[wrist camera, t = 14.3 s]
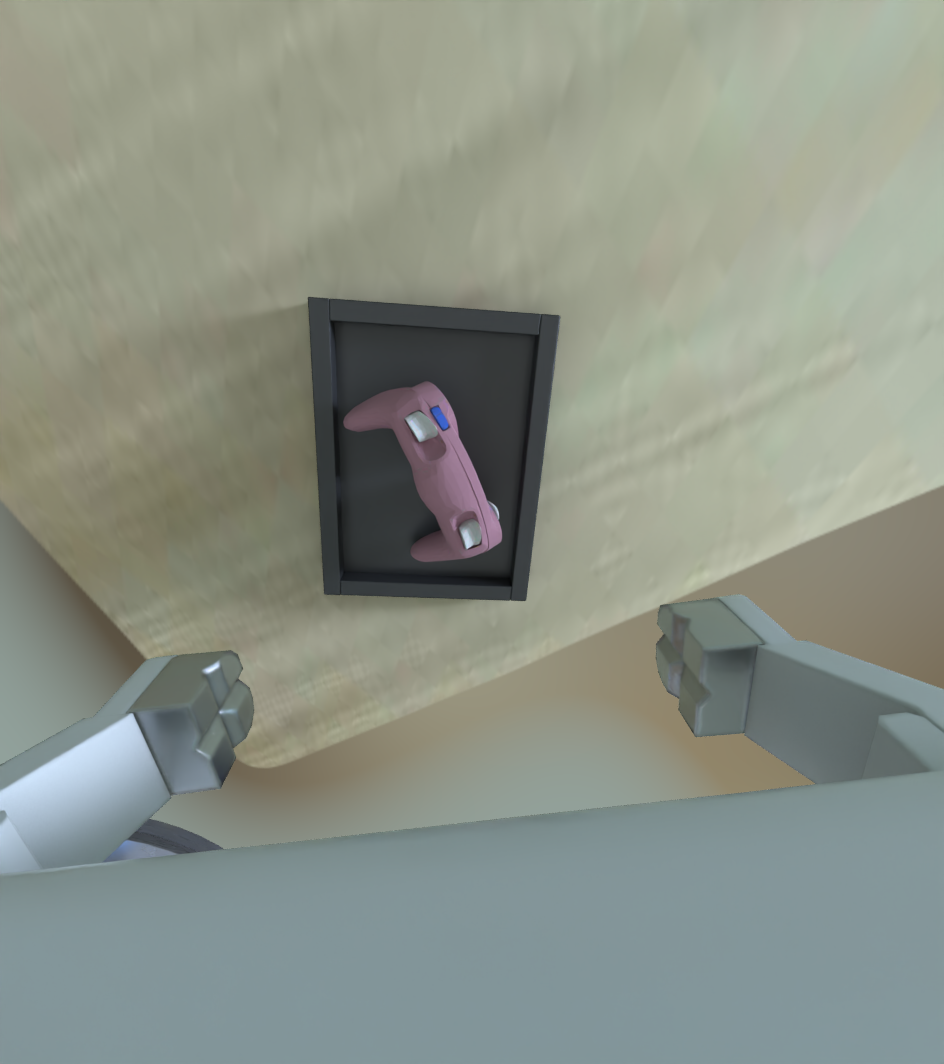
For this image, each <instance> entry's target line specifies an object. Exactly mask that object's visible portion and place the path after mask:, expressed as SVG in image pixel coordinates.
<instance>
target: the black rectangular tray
mask: <svg viewBox="0 0 944 1064" xmlns="http://www.w3.org/2000/svg"><path fill="white" fill-rule="evenodd" d="M308 307H309V325H310V343H311V362H312V380H313V398H314V417H315V435H316V453H317V472H318V490H319V508H320V526H321V545H322V563H323V581H324V594H327V595H361V596H391V597H420V598H450V599H480V600H510V599H511V600H512V601H526V597H527V588H528V580H529V572H530V564H531V555H532V547H533V539H534V531H535V522H536V514H537V506H538V497H539V489H540V481H541V473H542V464H543V456H544V448H545V440H546V431H547V423H548V415H549V407H550V398H551V390H552V382H553V374H554V365H555V357H556V349H557V341H558V332H559V324H560V316H559V315H546V314H533V313H519V312H505V311H492V310H478V309H464V308H451V307H437V306H423V305H410V304H396V303H382V302H369V301H355V300H341V299H328V298H314V297H308ZM425 381H427V382H431V383H432V384H434V385H435V386H436V387H437V388H438V389H439V390H440V391H441V392H442V393H443V395H444V396H445V398H446V399H447V401H448V402H449V404H450V406H451V408H452V410H453V412H454V415H455V418H456V422H457V427H458V434H459V439H460V440H461V442H462V444H463V446H464V448H465V450H466V452H467V454H468V456H469V458H470V460H471V463H472V465H473V467H474V469H475V471H476V474H477V476H478V479H479V481H480V484H481V486H482V489H483V491H484V494H485V496H486V500H487V501H489V502H491V503H492V504H494V505H495V506H496V507H497V509H498V512H499V520H498V521H499V523H500V527H501V530H502V540H501V542H500V543H499V544H497V545H496V546H494V547H493V548H491V549H490V550H488V551H487V552H485V553H480V554H478V555H476V556H473V557H470V558H465V559H457V560H445V561H433V562H423V561H418V560H416V559H414V558H413V557H412V555H411V552H410V550H411V547H412V546H413V544H414V543H415V542H416V541H418V540H419V539H421V538H423V537H424V536H427V535H429V534H431V533H433V532H436V531H440V530H441V528H440V526H439V524H438V521H437V519H436V517H435V515H434V514H433V513H432V512H431V511H430V510H429V509H428V508H427V506H426V505H425V504H424V502H423V501H422V499H421V498H420V495H419V493H418V491H417V488H416V485H415V482H414V478H413V472H412V467H411V465H410V463H409V461H408V459H407V457H406V455H405V453H404V451H403V449H402V447H401V445H400V443H399V441H398V439H397V437H396V435H395V432H394V431H393V429H388V428H379V429H374V430H368V431H362V432H357V431H351V430H349V429H347V428H345V426H344V423H343V421H344V418H345V416H346V415H347V414H348V413H349V412H350V411H351V410H352V409H353V408H354V407H356V406H358V405H359V404H361V403H362V402H364V401H366V400H368V399H370V398H371V397H373V396H375V395H377V394H379V393H381V392H384V391H388V390H392V389H397V388H403V387H410V388H412V387H414V386H416V385H418V384H420V383H422V382H425Z"/></svg>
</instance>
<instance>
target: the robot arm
mask: <svg viewBox="0 0 944 1064" xmlns="http://www.w3.org/2000/svg"><path fill="white" fill-rule="evenodd" d="M657 621H658V622H657V624H658V626H659V627H660V629H661V630H662V632H663V633H664V635H663V636H662V637H661V638H660V640H659V641H658V642H657V643H656V661H657V667H658V673H659V675H660V678H661V680H662V683H663V685H664V686H665V688H666V690H667V692H668V693H670V694H672V695H674V696H675V697H677V698H679V711H680V713H681V714H682V716H683V718H684V719H685V721H686V723H687V724H688V726H689V727H690V729H691V731H692V732H693V734H694V735H695V737H702V736H715V735H727V734H739V733H745V736H747V737H748V738H749V739H751V740H752V741H754V742H755V743H757V744H758V745H759V746H761V747H762V748H764V749H766V750H767V751H768V752H770V753H771V754H773V755H774V756H776V757H777V758H779V759H780V760H781V761H783V762H785V763H786V764H787V765H789V766H790V767H792V768H793V769H795V770H796V771H798V772H799V773H801V774H802V775H804V776H806V777H807V778H808V779H810V780H811V781H813V782H814V783H815V784H814V785H805V786H797V787H788V788H779V789H770V790H762V791H753V792H744V793H735V794H725V795H717V796H707V797H697V798H688V799H679V800H670V801H660V802H652V803H643V804H633V805H624V806H614V807H605V808H597V809H586V810H578V811H568V812H559V813H549V814H540V815H531V816H522V817H512V818H503V819H494V820H486V821H476V822H468V823H458V824H449V825H441V826H432V827H422V828H414V829H404V830H395V831H386V832H377V833H368V834H359V835H351V836H341V837H332V838H324V839H315V840H305V841H296V842H288V843H278V844H269V845H259V846H250V847H241V848H232V849H223V850H214V851H205V852H195V853H186V854H177V855H168V856H159V857H150V858H141V859H131V860H122V861H113V862H104V863H102V862H103V861H104V860H105V859H106V858H108V857H109V856H110V855H111V854H112V853H113V852H114V851H115V850H116V849H117V848H118V847H119V846H120V845H121V844H123V843H124V842H125V841H126V840H127V839H128V838H129V837H130V836H131V835H132V834H133V833H134V832H135V831H136V830H138V829H139V828H140V827H141V826H142V825H143V824H144V823H145V822H146V821H147V820H148V819H149V818H150V817H152V816H153V814H155V812H157V811H158V810H159V809H160V808H161V807H162V806H163V805H164V804H165V803H167V802H168V801H169V800H170V799H171V795H177V794H186V793H193V792H200V791H207V790H215V789H220V788H221V787H222V785H223V782H224V781H225V779H226V777H227V775H228V773H229V771H230V769H231V767H232V765H233V763H234V761H235V759H236V756H235V753H234V750H233V748H234V747H235V746H237V745H238V744H239V743H240V742H242V741H243V740H244V739H245V738H246V737H247V735H248V732H249V730H250V728H251V726H252V720H253V714H254V705H253V697H252V694H251V691H250V688H249V687H248V686H247V685H246V684H244V683H243V682H242V681H240V680H239V679H238V678H239V676H240V674H241V672H242V670H243V667H242V664H241V662H240V659H239V657H238V654H236V653H235V652H233V651H231V650H229V651H217V652H206V653H194V654H183V655H171V656H163V657H155V658H151V659H148V660H146V661H145V662H144V663H143V664H142V665H141V666H140V667H139V668H138V669H137V670H136V671H135V673H134V674H133V675H132V676H131V677H130V678H129V679H128V680H127V681H126V682H125V683H124V684H123V686H121V688H120V689H119V690H118V691H117V692H116V693H115V694H114V695H113V696H112V697H111V698H110V699H109V700H108V702H107V703H106V704H105V705H104V706H103V707H102V708H101V709H100V710H99V711H98V712H97V714H95V715H94V716H93V717H92V718H84V719H82V720H80V721H78V722H77V723H75V724H73V725H71V726H69V727H67V728H66V729H64V730H62V731H60V732H58V733H57V734H55V735H53V736H51V737H49V738H48V739H46V740H44V741H42V742H40V743H39V744H37V745H35V746H33V747H32V748H30V749H28V750H26V751H25V752H23V753H21V754H19V755H17V756H15V757H14V758H12V759H10V760H8V761H6V762H5V763H3V764H1V765H0V1064H944V689H941V688H938V687H935V686H933V685H930V684H927V683H924V682H921V681H918V680H916V679H913V678H910V677H907V676H904V675H902V674H899V673H896V672H893V671H891V670H888V669H885V668H882V667H879V666H877V665H874V664H870V663H868V662H865V661H862V660H860V659H857V658H854V657H851V656H848V655H846V654H843V653H840V652H837V651H834V650H832V649H829V648H826V647H823V646H820V645H817V644H815V643H812V642H809V641H796V640H795V639H794V638H793V637H792V636H791V635H789V634H788V633H787V632H786V631H785V630H784V629H783V628H781V627H780V626H779V625H778V624H777V623H776V622H775V621H773V620H772V619H771V618H770V617H769V616H768V615H767V614H766V613H764V612H763V611H762V610H761V609H760V608H759V607H758V606H756V605H755V604H754V603H753V602H752V601H751V600H750V599H748V598H747V597H746V596H743V595H740V594H737V595H730V596H723V597H716V598H711V599H703V600H696V601H688V602H680V603H672V604H665V605H660V608H659V612H658V620H657Z"/></svg>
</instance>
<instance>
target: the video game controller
mask: <svg viewBox="0 0 944 1064" xmlns="http://www.w3.org/2000/svg"><path fill="white" fill-rule="evenodd" d="M343 423H344V426H345V428H347V429H349V430H351V431H357V432H362V431H368V430H374V429H379V428H388V429H393V431H394V432H395V435H396V437H397V439H398V441H399V443H400V445H401V447H402V449H403V451H404V453H405V455H406V457H407V459H408V461H409V463H410V465H411V467H412V472H413V478H414V482H415V485H416V488H417V491H418V493H419V495H420V498H421V499H422V501H423V502H424V504H425V505H426V506H427V508H428V509H429V510H430V511H431V512H432V513H433V514H434V515H435V517H436V519H437V521H438V524H439V526H440V528H441V530H440V531H436V532H433V533H431V534H429V535H427V536H424V537H423V538H421V539H419V540H418V541H416V542H415V543H414V544H413V546H412V547H411V550H410V552H411V555H412V557H413V558H414V559H416V560H418V561H423V562H433V561H445V560H457V559H465V558H470V557H473V556H476V555H478V554H480V553H485V552H487V551H488V550H490V549H491V548H493V547H494V546H496V545H497V544H499V543H500V542H501V540H502V530H501V527H500V523H499V521H498V520H499V512H498V509H497V507H496V506H495V505H494V504H492V503H491V502H489V501H487V500H486V496H485V494H484V491H483V489H482V486H481V484H480V481H479V479H478V476H477V474H476V471H475V469H474V467H473V465H472V463H471V460H470V458H469V456H468V454H467V452H466V450H465V448H464V446H463V444H462V442H461V440H460V439H459V434H458V427H457V422H456V418H455V415H454V412H453V410H452V408H451V406H450V404H449V402H448V401H447V399H446V398H445V396H444V395H443V393H442V392H441V391H440V390H439V389H438V388H437V387H436V386H435V385H434V384H432V383H431V382H427V381H425V382H422V383H420V384H418V385H416V386H414V387H412V388H410V387H403V388H397V389H392V390H388V391H384V392H381V393H379V394H377V395H375V396H373V397H371V398H370V399H368V400H366V401H364V402H362V403H361V404H359V405H358V406H356V407H354V408H353V409H352V410H351V411H350V412H349V413H348V414H347V415H346V416H345V418H344V421H343Z"/></svg>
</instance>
